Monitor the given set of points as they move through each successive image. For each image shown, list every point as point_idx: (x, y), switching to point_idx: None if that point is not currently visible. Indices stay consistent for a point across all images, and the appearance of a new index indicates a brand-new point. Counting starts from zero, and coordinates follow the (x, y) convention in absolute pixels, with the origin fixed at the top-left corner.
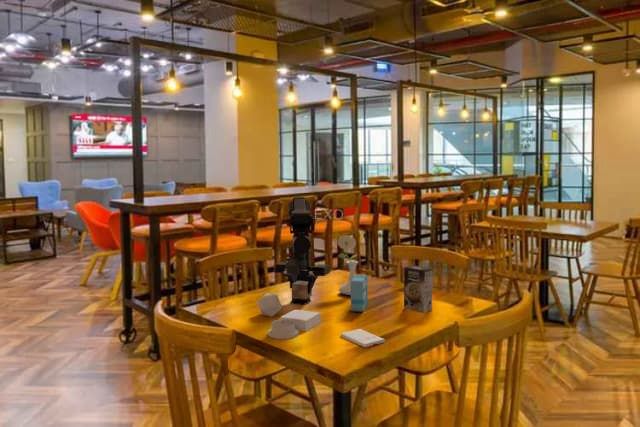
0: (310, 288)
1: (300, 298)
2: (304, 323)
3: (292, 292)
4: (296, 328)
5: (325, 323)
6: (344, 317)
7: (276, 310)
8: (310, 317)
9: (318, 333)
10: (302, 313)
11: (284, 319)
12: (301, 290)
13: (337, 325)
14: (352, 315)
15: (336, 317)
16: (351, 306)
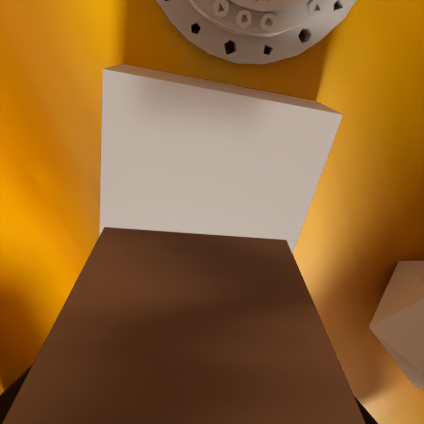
0: (10, 391)
1: (178, 236)
2: (125, 69)
3: (305, 286)
4: (179, 25)
5: (84, 234)
6: (44, 332)
7: (393, 294)
8: (109, 161)
9: (21, 36)
10: (204, 233)
11: (287, 4)
12: (145, 312)
13: (4, 220)
14: (26, 360)
15: None
16: None
